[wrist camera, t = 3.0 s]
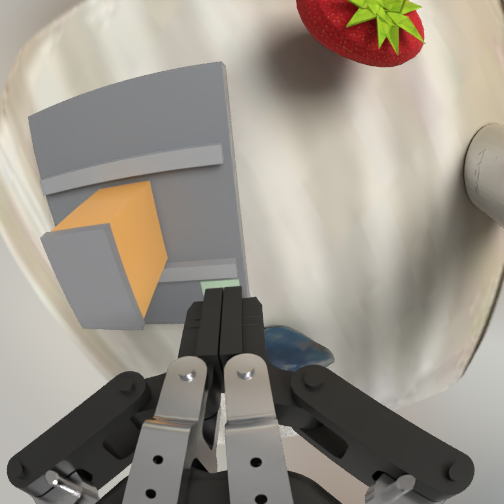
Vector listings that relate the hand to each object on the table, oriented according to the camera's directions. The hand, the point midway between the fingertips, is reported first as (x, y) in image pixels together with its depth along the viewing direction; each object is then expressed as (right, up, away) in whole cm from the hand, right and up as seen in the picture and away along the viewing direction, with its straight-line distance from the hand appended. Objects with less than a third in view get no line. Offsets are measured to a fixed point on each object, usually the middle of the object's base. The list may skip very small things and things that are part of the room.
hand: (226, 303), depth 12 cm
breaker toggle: (-7, +4, +8) cm, 12 cm away
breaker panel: (-7, +6, +10) cm, 14 cm away
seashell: (+3, -8, +19) cm, 21 cm away
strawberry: (+7, +18, +4) cm, 19 cm away
